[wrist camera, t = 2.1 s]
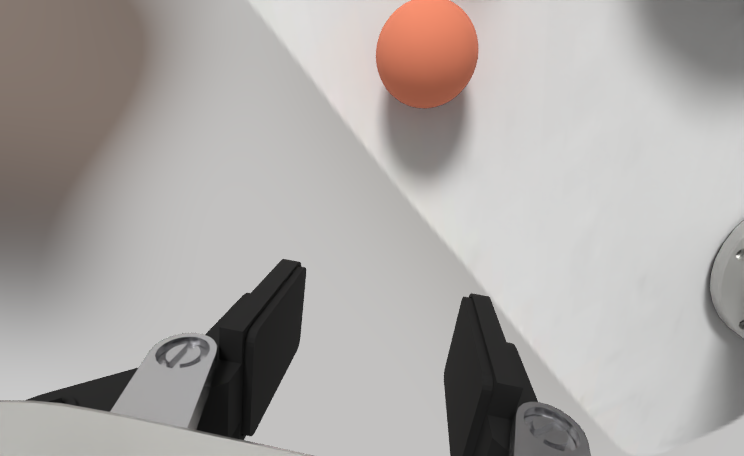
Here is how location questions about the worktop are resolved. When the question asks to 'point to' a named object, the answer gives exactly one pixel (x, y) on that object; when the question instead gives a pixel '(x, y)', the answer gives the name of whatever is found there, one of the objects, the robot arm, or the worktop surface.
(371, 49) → the worktop surface
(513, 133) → the worktop surface
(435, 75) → the ball
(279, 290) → the robot arm
